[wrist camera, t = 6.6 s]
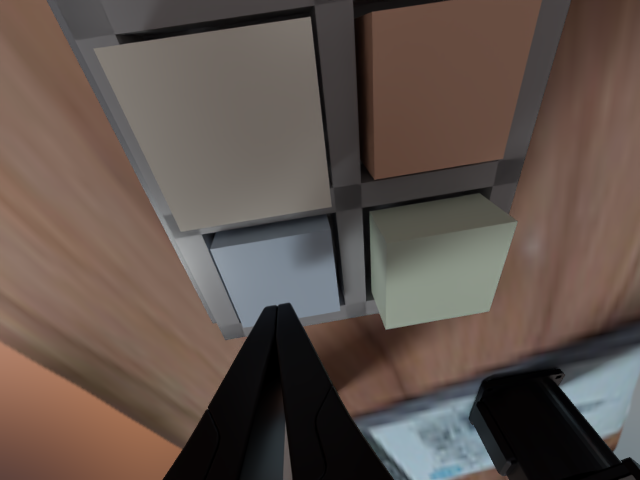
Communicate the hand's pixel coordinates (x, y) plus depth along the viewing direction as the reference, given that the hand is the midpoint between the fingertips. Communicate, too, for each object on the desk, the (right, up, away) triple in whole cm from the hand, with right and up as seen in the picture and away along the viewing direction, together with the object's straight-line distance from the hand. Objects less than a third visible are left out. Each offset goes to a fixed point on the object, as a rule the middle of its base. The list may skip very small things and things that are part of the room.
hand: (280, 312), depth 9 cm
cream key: (-1, +6, -1) cm, 6 cm away
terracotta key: (+4, +7, 0) cm, 9 cm away
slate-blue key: (0, +2, +3) cm, 4 cm away
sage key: (+5, +2, +2) cm, 6 cm away
